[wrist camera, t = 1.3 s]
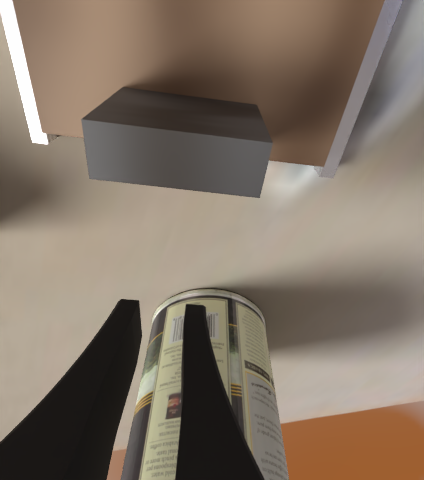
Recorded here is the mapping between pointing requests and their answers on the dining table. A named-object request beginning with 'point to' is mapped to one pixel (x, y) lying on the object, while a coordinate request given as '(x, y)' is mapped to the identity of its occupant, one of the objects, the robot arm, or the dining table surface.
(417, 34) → the dining table surface
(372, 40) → the rails
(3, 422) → the dining table surface
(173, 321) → the coffee can
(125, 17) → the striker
